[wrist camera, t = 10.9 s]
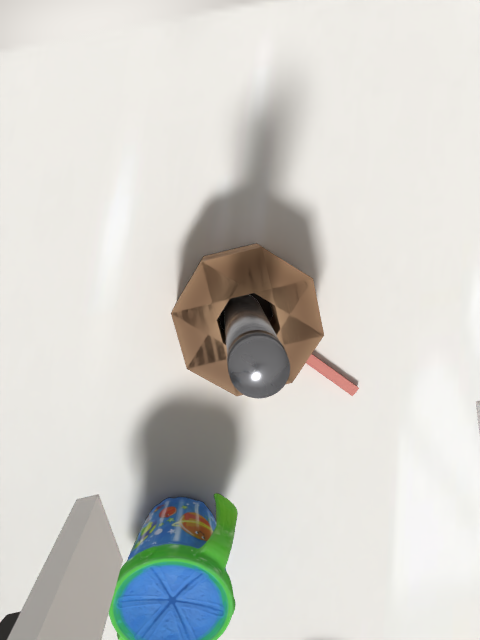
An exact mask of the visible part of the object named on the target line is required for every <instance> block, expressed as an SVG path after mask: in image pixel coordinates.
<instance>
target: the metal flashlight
mask: <svg viewBox="0 0 480 640" xmlns="http://www.w3.org/2000/svg"><path fill="white" fill-rule="evenodd" d="M224 322H225V334H226V345H227V366H228V372H229V376H230V379H231V382H232V384H233V385H234V387H235V388H236V389H237V390H238V391H239V392H240V393H242V394H244V395H246V396H248V397H252V398H265V397H269V396H272V395H274V394H275V393H277V392H278V391H280V390H281V389H282V388H283V387H284V385H285V384H286V382H287V380H288V378H289V374H290V362H289V358H288V356H287V353H286V351H285V349H284V347H283V345H282V343H281V342H280V340H279V339H278V337H277V336H276V334H275V332H274V330H273V328H272V326H271V324H270V322H269V321H268V319H267V317H266V315H265V313H264V311H263V309H262V308H261V306H260V304H259V302H258V301H257V300H256V299H255V298H254V297H253V296H251V295H244V296H240V297H236V298H231V299H229V301H228V303H227V304H226V306H225V307H224Z"/></svg>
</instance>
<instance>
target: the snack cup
mask: <svg viewBox="0 0 480 640" xmlns="http://www.w3.org/2000/svg"><path fill="white" fill-rule="evenodd" d="M214 499H215V502H216V521H215V519H214V517H213V515H212V513H211V511H210V510H209V509H208V508H207V507H206V505H205V504H204V503H203V502H201V501H199V500H198V501H196V500H193V499H189V498H185V497H177V498H167V499H165V500H163V501H162V502H161V503H160V504H159V505H156V506H155V507H154V508H153V509H152V511H151V512H150V514H149V515H148V517H147V519H146V520H145V522H144V524H143V526H142V528H141V530H140V533H139V535H138V537H137V539H136V541H135V543H134V546H133V548H132V550H131V552H130V555H129V557H128V560H127V562H126V563H125V564H124V565H123V566H122V568H121V569H120V573H119V576H118V580H117V584H116V587H115V591H114V595H113V598H112V602H111V605H110V609H109V616H110V619H111V622H112V625H113V626H114V628H115V630H116V631H117V637H118V639H119V640H217V639H218V638H219V637H220V636H221V635H222V634H223V632H224V631H225V630H226V628H227V626H228V624H229V622H230V620H231V617H232V615H233V613H234V610H235V599H234V597H233V590H232V585H231V581H230V578H229V576H228V574H227V572H226V568H225V567H226V564H227V561H228V558H229V554H230V550H231V547H232V543H233V538H234V532H235V526H236V520H237V514H238V513H237V509H236V507H235V506H234V505H233V504H232V503H231V502H230V501H229V500H228V499H227V498H225V497H223V496H222V495H220V494H217V493H215V494H214Z"/></svg>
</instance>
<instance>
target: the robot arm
mask: <svg viewBox="0 0 480 640" xmlns="http://www.w3.org/2000/svg"><path fill="white" fill-rule="evenodd" d="M476 406H477V415H478V424H479V433H480V401H477V402H476ZM122 562H123V559H122V556H121V554H120V551H119V548H118V546H117V543H116V540H115V537H114V535H113V532H112V529H111V527H110V524H109V521H108V519H107V516H106V513H105V510H104V508H103V505H102V502H101V500H100V497H99V494H98V495H94V496H89V497H85V498H81V499H77V500H76V502H75V504H74V506H73V508H72V510H71V512H70V514H69V516H68V518H67V520H66V522H65V524H64V526H63V528H62V530H61V532H60V534H59V536H58V538H57V540H56V542H55V544H54V546H53V548H52V550H51V552H50V554H49V556H48V558H47V560H46V562H45V564H44V566H43V568H42V570H41V572H40V574H39V576H38V578H37V580H36V582H35V584H34V586H33V588H32V590H31V592H30V594H29V596H28V598H27V600H26V602H25V604H24V606H23V608H22V610H21V612H17V613H12V614H8V615H6V617H5V618H4V619H3V620H2V621H1V622H0V640H101V638H102V635H103V631H104V627H105V624H106V620H107V616H108V613H109V609H110V605H111V602H112V598H113V595H114V591H115V587H116V584H117V580H118V576H119V573H120V569H121V565H122Z"/></svg>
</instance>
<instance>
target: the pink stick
mask: <svg viewBox="0 0 480 640" xmlns="http://www.w3.org/2000/svg"><path fill="white" fill-rule="evenodd" d="M306 363H307V364H308V365H310V366H311V367H312V368H314V369H315V370H317V371H318V372H319V373H321V374H322V375H324V376H325V377H326V378H328V379H329V380H331V381H332V382H333V383H335V384H336V385H338V386H339V387H340V388H342V389H343V390H345V391H346V392H347V393H349V394H350V395H352V396H353V395H354V394H355V393H356V391H357V390H358V389H359V388H358V387H357V386H356V385H354V384H353V383H352V382H350V381H349V380H347V379H346V378H345V377H343V376H342V375H341V374H339V373H338V372H336V371H335V370H334V369H332V368H331V367H329V366H328V365H327V364H325V363H324V362H322V361H321V360H320V359H318V358H317V357H316V356H314V355H313V354H311V355H310V357H309V358H308V360H307V361H306Z"/></svg>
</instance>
